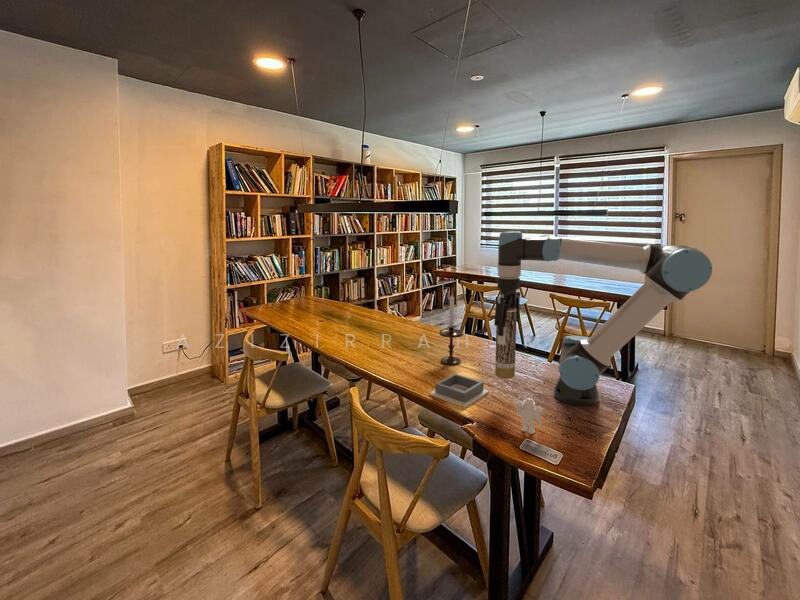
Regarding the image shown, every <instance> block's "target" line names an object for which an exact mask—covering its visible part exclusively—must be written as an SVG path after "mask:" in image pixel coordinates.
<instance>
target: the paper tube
mask: <svg viewBox="0 0 800 600" xmlns="http://www.w3.org/2000/svg"><path fill="white" fill-rule="evenodd" d="M516 319H517V308H511V307H509V308H508V310H507V318H506V323H505V326H506V345H501V344H497V343H498V326H496V327H495V361H494V362H495V369H494V370H495V372H494V374H495V376H496V377H498V378H499V379H504V380H509V379H513V378H514V377H515V373H516V372H515V371H516V350H517V349H516V347H517V346H516V345H517V344H516V343H517V339H516V338H517V322H516Z"/></svg>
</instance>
